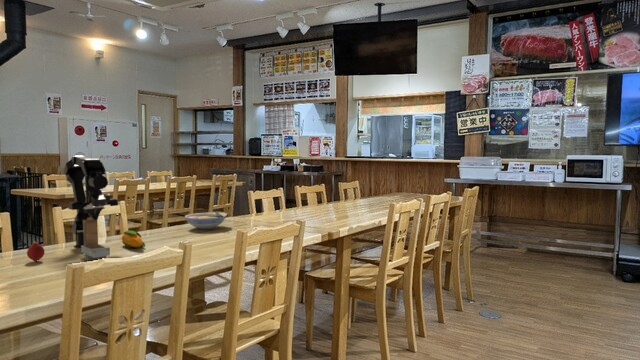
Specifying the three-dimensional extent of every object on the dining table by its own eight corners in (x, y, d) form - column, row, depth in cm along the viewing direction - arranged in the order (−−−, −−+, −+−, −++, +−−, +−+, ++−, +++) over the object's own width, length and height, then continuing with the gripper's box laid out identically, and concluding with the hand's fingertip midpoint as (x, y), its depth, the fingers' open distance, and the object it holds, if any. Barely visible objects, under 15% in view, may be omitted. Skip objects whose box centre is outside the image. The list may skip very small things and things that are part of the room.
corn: (134, 227, 215) (149, 232, 200) (135, 242, 216) (151, 249, 200) (117, 229, 210) (132, 235, 195) (119, 246, 211) (133, 253, 196)
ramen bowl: (184, 226, 263) (184, 211, 263) (224, 223, 270) (224, 210, 269) (185, 233, 239) (184, 217, 239) (229, 230, 246) (229, 215, 246)
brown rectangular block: (83, 246, 187) (82, 217, 187) (93, 245, 190) (92, 216, 189) (88, 248, 184) (87, 218, 183) (98, 247, 187) (97, 217, 186)
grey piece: (78, 257, 186) (78, 245, 186) (99, 254, 192) (99, 242, 192) (91, 263, 176) (90, 250, 176) (112, 259, 182) (112, 246, 182)
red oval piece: (41, 259, 185) (40, 239, 184) (47, 261, 181) (46, 241, 180) (25, 261, 180) (24, 241, 180) (30, 264, 176) (29, 243, 176)
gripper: (76, 190, 184) (78, 228, 185) (122, 187, 198) (124, 223, 199) (66, 189, 192) (68, 226, 193) (112, 186, 205) (113, 220, 206)
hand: (94, 223), depth 198 cm, fingers closed
